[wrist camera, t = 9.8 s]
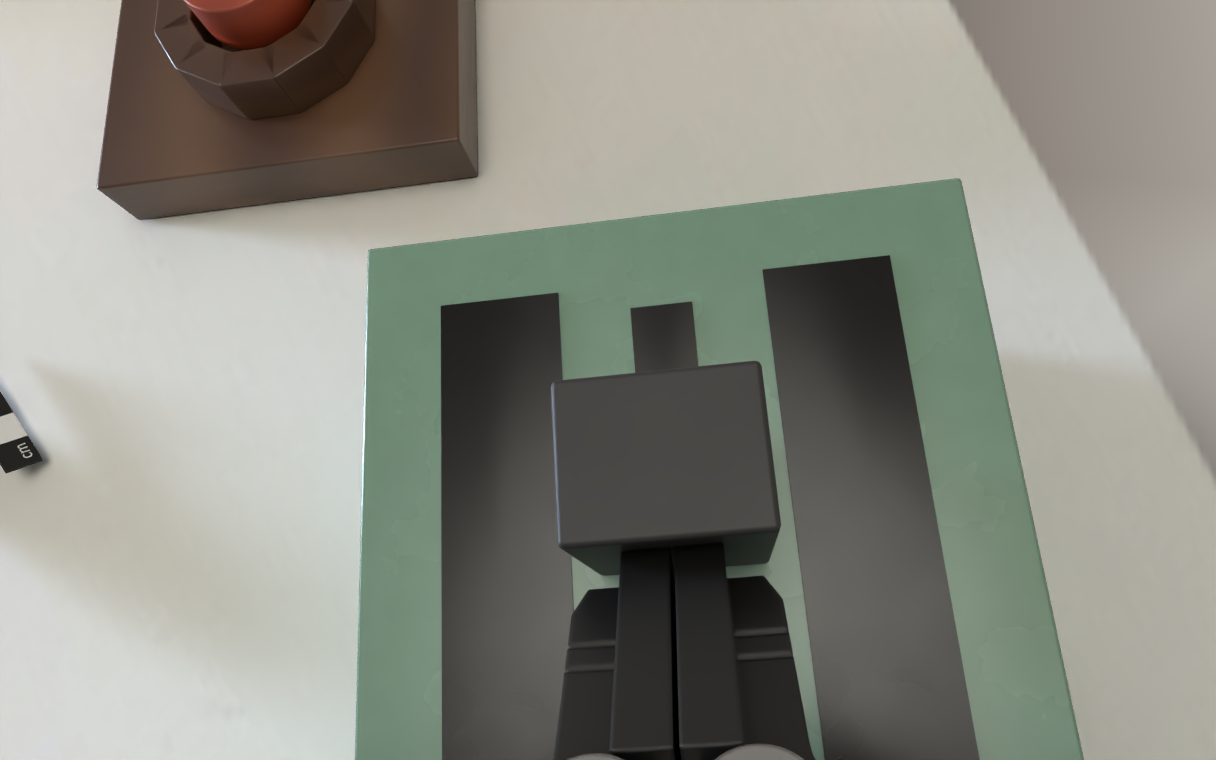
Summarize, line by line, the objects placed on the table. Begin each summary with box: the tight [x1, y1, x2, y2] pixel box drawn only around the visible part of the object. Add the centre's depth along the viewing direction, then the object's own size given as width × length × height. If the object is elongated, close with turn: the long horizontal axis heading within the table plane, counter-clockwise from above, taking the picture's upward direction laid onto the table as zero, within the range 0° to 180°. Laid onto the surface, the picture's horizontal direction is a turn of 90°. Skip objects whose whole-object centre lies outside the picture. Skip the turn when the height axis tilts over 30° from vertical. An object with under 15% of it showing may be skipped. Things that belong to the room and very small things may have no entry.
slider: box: [551, 361, 781, 576], centre depth 14 cm, size 3×2×4 cm
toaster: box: [355, 178, 1084, 760], centre depth 20 cm, size 12×14×9 cm
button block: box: [97, 0, 478, 220], centre depth 29 cm, size 12×10×4 cm
